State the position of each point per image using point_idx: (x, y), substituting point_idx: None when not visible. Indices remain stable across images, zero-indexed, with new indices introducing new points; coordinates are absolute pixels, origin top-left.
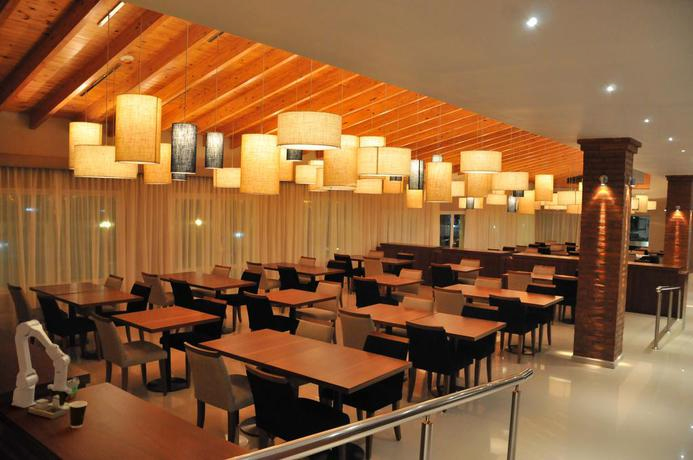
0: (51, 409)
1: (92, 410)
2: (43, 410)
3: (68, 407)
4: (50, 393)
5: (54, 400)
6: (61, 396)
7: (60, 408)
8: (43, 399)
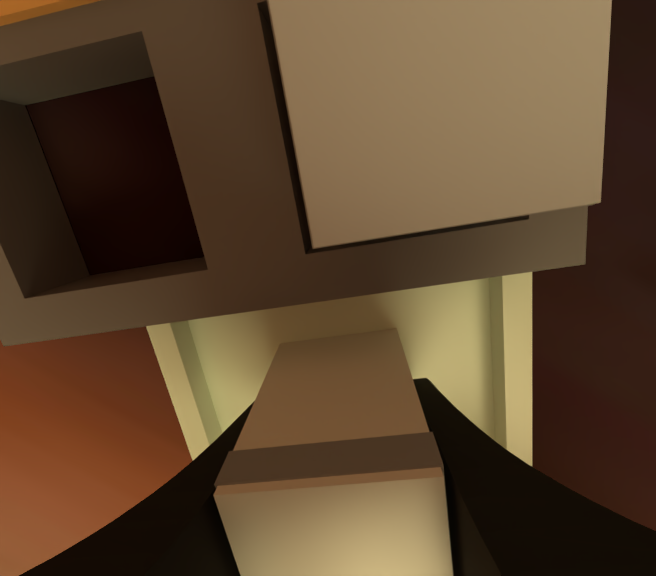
0: (202, 212)
1: (27, 541)
2: (189, 27)
3: (188, 441)
4: (596, 537)
5: (366, 411)
6: (47, 563)
7: (99, 316)
8: (501, 174)
